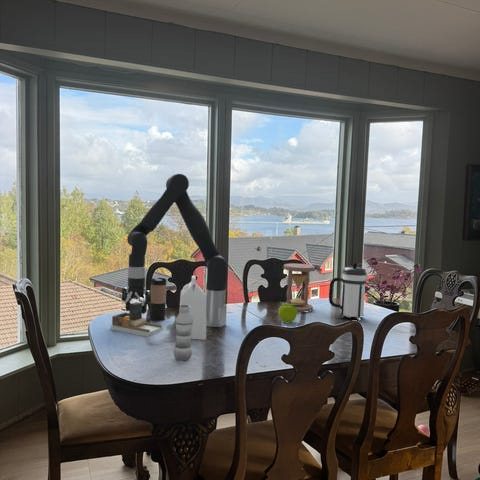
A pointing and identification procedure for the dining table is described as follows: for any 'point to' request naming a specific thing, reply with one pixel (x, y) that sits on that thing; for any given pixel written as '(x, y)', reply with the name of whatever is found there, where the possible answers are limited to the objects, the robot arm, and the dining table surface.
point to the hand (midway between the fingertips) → (136, 312)
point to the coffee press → (351, 291)
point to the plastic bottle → (183, 334)
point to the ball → (125, 319)
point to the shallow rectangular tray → (139, 329)
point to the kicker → (135, 315)
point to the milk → (195, 307)
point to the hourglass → (299, 279)
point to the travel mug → (158, 299)
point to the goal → (119, 319)
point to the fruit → (287, 312)
